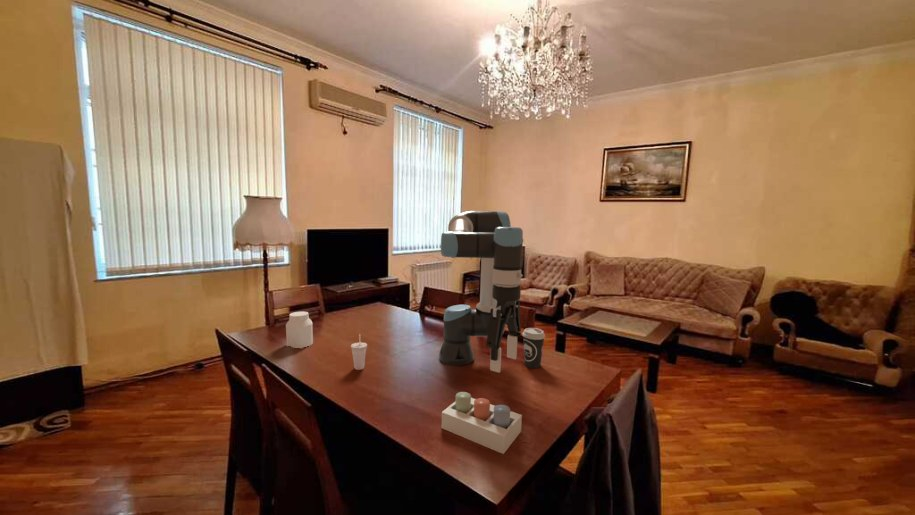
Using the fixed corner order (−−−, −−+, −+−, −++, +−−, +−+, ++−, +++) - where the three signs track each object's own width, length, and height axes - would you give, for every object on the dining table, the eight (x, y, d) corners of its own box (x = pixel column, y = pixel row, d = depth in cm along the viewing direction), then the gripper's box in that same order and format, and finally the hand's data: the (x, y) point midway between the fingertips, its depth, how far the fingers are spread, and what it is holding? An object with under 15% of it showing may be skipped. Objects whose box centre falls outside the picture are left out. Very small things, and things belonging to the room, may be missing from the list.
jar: (316, 343, 167) (315, 313, 165) (298, 350, 159) (297, 318, 157) (301, 339, 172) (300, 309, 171) (283, 345, 164) (281, 314, 162)
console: (441, 428, 102) (441, 412, 101) (463, 409, 112) (463, 394, 112) (503, 454, 91) (504, 436, 91) (521, 431, 101) (521, 415, 101)
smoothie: (370, 366, 143) (370, 333, 141) (360, 372, 137) (359, 338, 135) (358, 363, 146) (358, 331, 144) (347, 369, 140) (347, 335, 138)
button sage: (452, 415, 104) (452, 396, 103) (460, 408, 108) (460, 390, 107) (465, 420, 102) (465, 401, 101) (473, 413, 106) (473, 394, 105)
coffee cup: (544, 371, 142) (546, 335, 140) (520, 368, 144) (522, 333, 142) (543, 361, 151) (545, 328, 149) (521, 359, 153) (522, 326, 151)
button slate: (490, 430, 97) (490, 410, 97) (497, 422, 101) (498, 403, 100) (505, 436, 95) (506, 415, 94) (512, 427, 99) (512, 407, 98)
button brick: (470, 422, 101) (471, 403, 100) (478, 415, 105) (478, 396, 104) (484, 428, 98) (485, 408, 98) (492, 420, 102) (492, 401, 101)
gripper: (501, 293, 82) (498, 383, 84) (534, 280, 101) (531, 354, 103) (473, 289, 86) (471, 375, 88) (510, 277, 105) (508, 348, 107)
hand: (503, 364), depth 96 cm, fingers open, 10 cm apart
